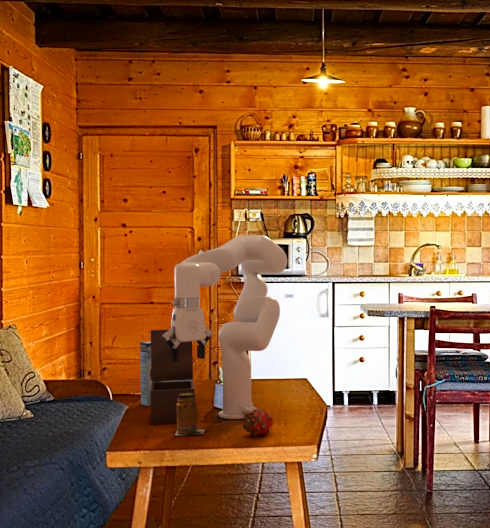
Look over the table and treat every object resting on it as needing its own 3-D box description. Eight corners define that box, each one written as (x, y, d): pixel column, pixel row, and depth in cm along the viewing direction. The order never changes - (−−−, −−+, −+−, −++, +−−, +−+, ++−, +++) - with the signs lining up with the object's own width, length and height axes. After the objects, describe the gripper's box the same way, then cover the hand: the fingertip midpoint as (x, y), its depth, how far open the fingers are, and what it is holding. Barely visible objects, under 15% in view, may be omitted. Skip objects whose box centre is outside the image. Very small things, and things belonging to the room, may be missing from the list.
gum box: (186, 397, 319) (185, 337, 318) (194, 399, 315) (193, 338, 314) (140, 404, 305) (139, 341, 305) (147, 406, 302) (146, 342, 301)
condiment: (177, 431, 261) (176, 392, 261) (204, 430, 262) (204, 391, 262) (174, 436, 254) (173, 396, 253) (202, 435, 255) (202, 395, 254)
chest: (194, 422, 274) (194, 388, 274) (151, 424, 271) (150, 390, 271) (193, 412, 290) (192, 380, 290) (152, 414, 287) (151, 382, 287)
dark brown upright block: (192, 329, 288) (191, 326, 293) (150, 330, 285) (150, 327, 290) (192, 379, 290) (192, 376, 295) (151, 381, 287) (151, 377, 292)
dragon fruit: (249, 445, 248) (261, 441, 260) (272, 428, 247) (283, 425, 259) (233, 420, 249) (246, 418, 261) (256, 404, 249) (267, 402, 261)
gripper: (170, 305, 248) (171, 363, 248) (217, 302, 261) (218, 358, 261) (156, 304, 253) (156, 361, 253) (202, 302, 266) (203, 356, 266)
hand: (187, 359), depth 257 cm, fingers open, 9 cm apart
